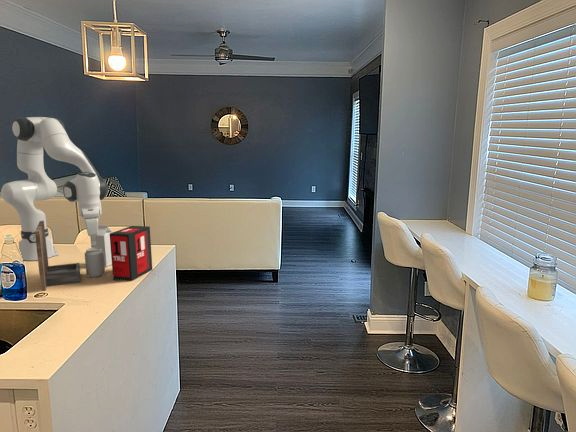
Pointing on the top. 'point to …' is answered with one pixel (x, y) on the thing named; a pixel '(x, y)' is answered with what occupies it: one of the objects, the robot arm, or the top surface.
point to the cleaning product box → (131, 252)
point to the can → (94, 262)
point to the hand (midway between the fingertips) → (93, 242)
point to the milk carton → (104, 243)
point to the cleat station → (53, 273)
